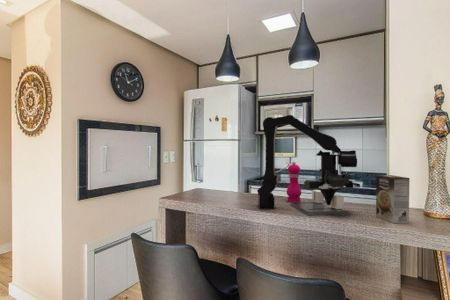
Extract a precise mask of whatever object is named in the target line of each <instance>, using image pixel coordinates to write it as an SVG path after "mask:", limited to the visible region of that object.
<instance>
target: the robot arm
mask: <svg viewBox="0 0 450 300" xmlns="http://www.w3.org/2000/svg"><path fill="white" fill-rule="evenodd" d="M285 126H291V127H292V128H293V129H296V130H298V131H299V132H300V133H302V134H304V135H305V136H307V137H309V138H311V139H312V140H313V141H314V142H315V143H317V145H318V146H320V147H321V149H323V150H324V151H322V150H321V149H319V151H318V152H317V153H316V156H319V157H320V168H319V172H320V178H319V180H315V179H305V181H304V183H303V184H304V185H303V186H304V187H305V188H307V189H313V190H316V189H317V190H320V191H321V193H322V194H323V196H324V201H326V203H327V205H330V204H331V201H332V199H333V196H334V194H336V192H338V191H340V190H341V188H344V187H345V188H347V189H349V188H350V189H354V182H353V180H351V179H350V178H349V177H350V176H349V174H347V173H345V174H339V170H338V169H337V165H339V166H340V168H357V166H358V158H357V151H356V150H342V149H341V148H340V147H339V146H338V145H337V139H336V138H334V137H333V136H332V135H328V134H326V133H323V132H321V131H318V130H316V129H314V128H313V127H311V126H309V125H307V124H306V123H304V122H303V121H301V120H299V119H298V118H297V117H294V116H293V115H292V114H287V115H283V116H278V117H277V116H276V117H271V116H270V117H269V116H267V117H266V118H264V119H263V121H262V127H263V133H264V137H265V169H264V174H263V178H262V184H261V186H260V187H259V188H258V189H257V204H256V207H257V208H258V209H260V210H275V209H276V208H275V197H274V194H273V191H274V190H275V189H276V188H277V187H278V185H279V183H280V182H279V181H280V180H279V175H280V174H279V173H276V169H275V168H276V166H275V165H276V162H275V161H276V154H275V153H276V152H275V151H276V136H277V133H278V128H282V127H285ZM331 152H332V153H336V154H331Z"/></svg>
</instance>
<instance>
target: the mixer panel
mask: <svg viewBox="0 0 450 300" xmlns="http://www.w3.org/2000/svg"><path fill="white" fill-rule="evenodd" d="M289 203H290V204H289V205H290V206H291V207H293V208H295V209H297V210H299V211H300V212H302V213H303V214H305V215H306V216H308V217H310V216H337V215H338V216H340V215H341V216H342V215H349V214H350V210H348V209H346V208H344V209H335V208H333V207H331V206H330V205H327V203H326V201H325V200H324V203H316V202H314V201H312V200H309V201H307V200H304V201H301V200H300V201H298V202H289Z"/></svg>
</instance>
